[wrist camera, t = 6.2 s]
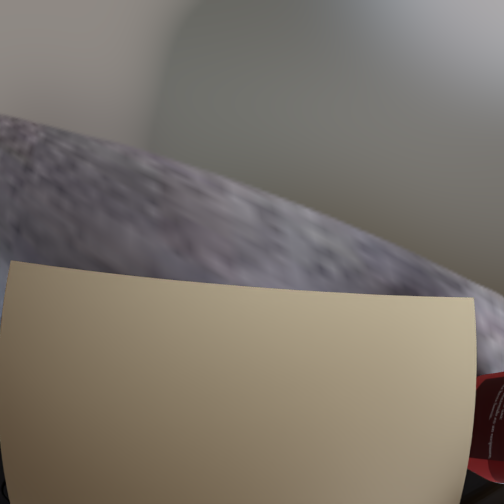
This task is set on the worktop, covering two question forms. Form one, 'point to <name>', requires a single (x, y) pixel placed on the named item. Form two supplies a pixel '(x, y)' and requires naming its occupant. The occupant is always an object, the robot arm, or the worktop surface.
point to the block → (230, 392)
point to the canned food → (488, 428)
